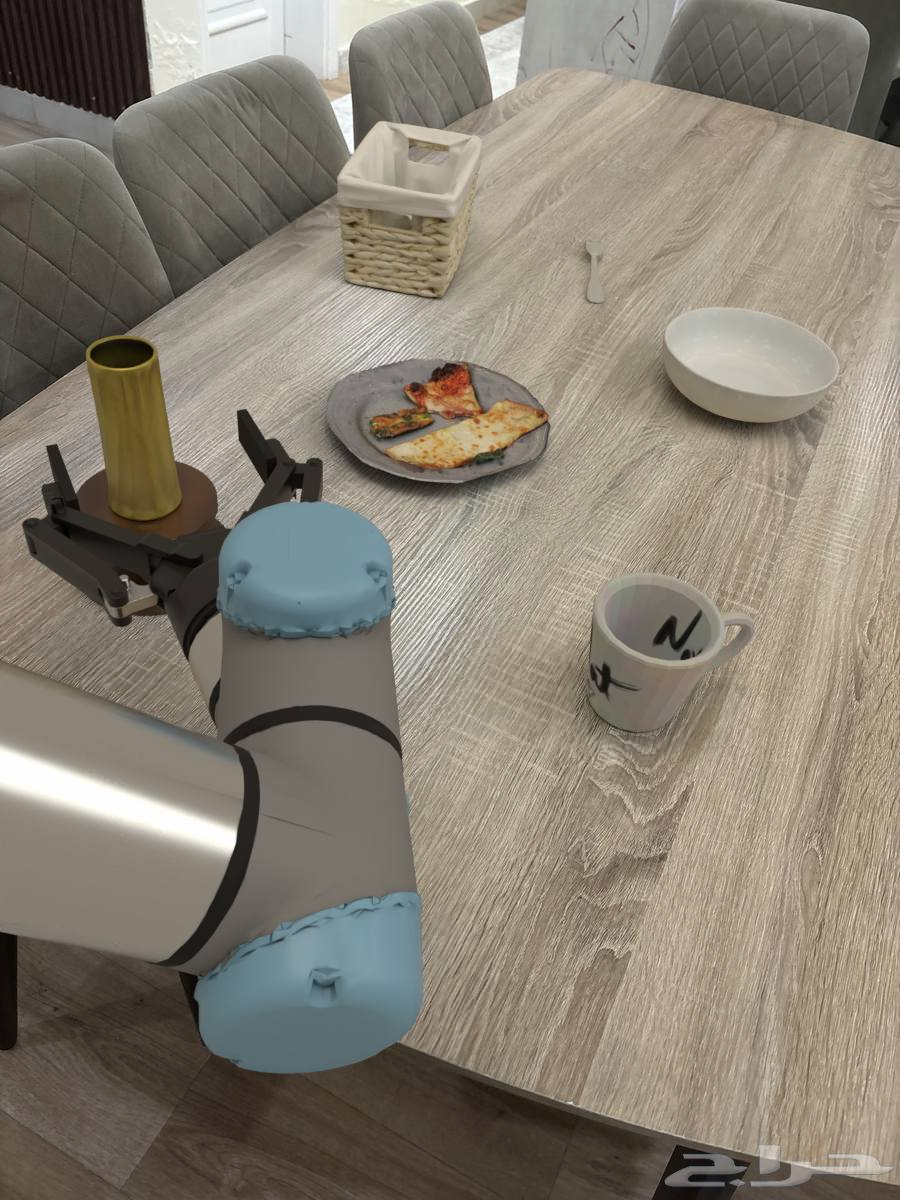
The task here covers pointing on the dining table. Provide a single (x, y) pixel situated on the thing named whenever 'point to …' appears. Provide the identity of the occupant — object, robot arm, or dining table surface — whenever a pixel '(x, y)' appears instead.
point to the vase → (133, 427)
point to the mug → (654, 647)
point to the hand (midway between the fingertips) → (152, 441)
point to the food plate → (437, 420)
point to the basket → (407, 208)
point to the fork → (595, 273)
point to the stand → (185, 519)
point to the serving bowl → (747, 363)
